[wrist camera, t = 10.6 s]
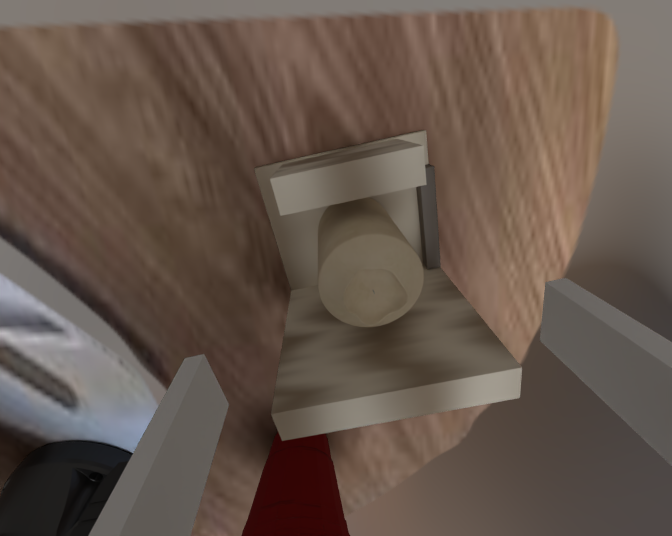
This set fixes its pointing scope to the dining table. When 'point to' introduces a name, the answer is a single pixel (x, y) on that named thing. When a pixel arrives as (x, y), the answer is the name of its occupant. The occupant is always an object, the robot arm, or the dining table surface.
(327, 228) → the candle
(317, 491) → the plastic cup
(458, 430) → the dining table surface
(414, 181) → the beige u-shaped bracket
